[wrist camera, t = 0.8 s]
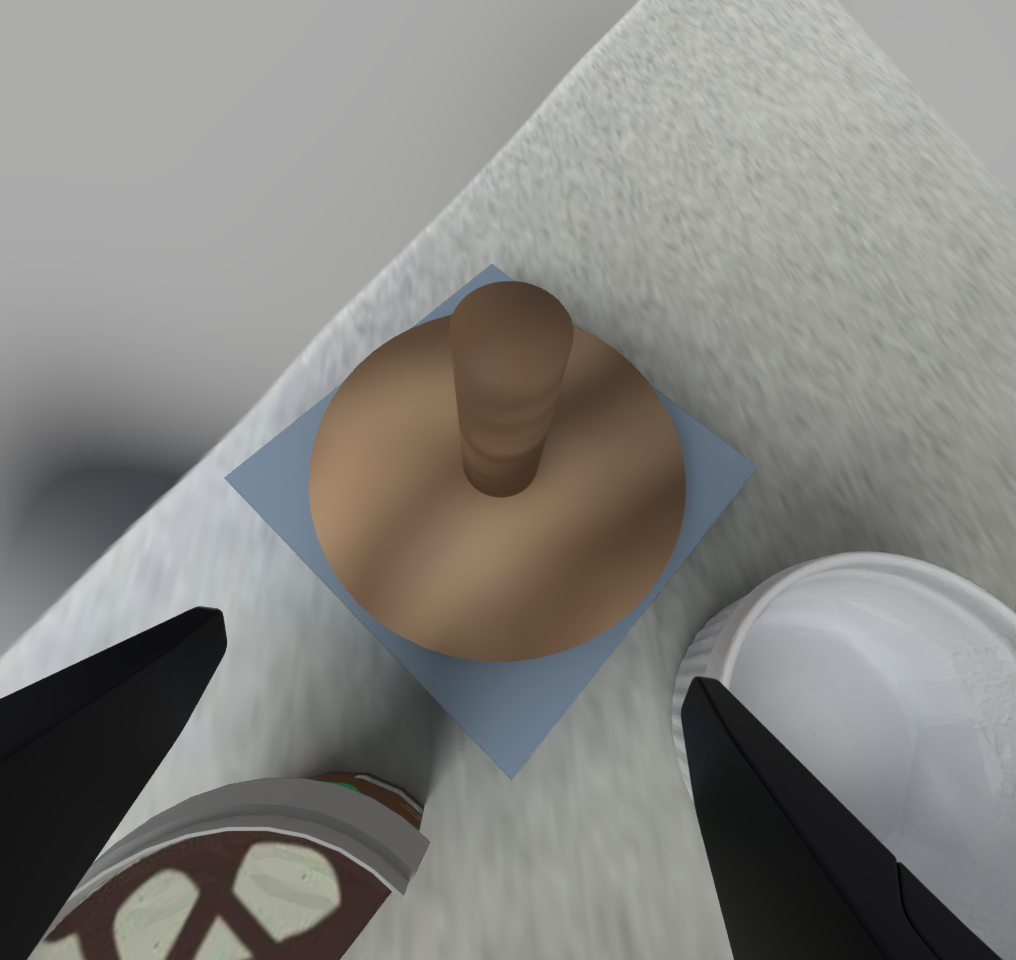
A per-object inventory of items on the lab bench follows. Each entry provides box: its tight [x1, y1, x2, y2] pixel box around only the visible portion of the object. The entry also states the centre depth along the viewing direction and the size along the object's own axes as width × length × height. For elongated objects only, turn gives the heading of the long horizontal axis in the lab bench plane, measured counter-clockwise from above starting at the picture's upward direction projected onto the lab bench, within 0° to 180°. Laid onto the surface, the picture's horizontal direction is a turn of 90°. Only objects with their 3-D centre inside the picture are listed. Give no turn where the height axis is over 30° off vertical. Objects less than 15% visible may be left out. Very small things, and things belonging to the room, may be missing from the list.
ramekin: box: [671, 551, 1016, 960], centre depth 18 cm, size 13×13×7 cm
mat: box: [225, 264, 758, 780], centre depth 23 cm, size 17×17×3 cm
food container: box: [27, 772, 430, 960], centre depth 14 cm, size 12×6×10 cm, turn 139°
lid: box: [309, 281, 686, 662], centre depth 17 cm, size 16×16×10 cm
